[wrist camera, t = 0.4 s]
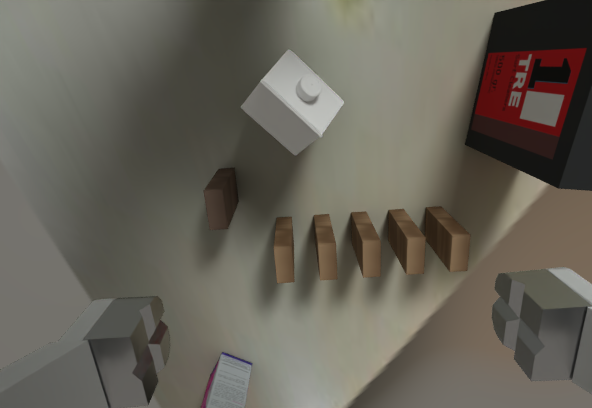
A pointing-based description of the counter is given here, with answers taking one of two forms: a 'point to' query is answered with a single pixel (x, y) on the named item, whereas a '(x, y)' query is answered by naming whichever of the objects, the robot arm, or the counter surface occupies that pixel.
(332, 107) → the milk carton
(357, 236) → the tile
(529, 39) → the cleaning product box
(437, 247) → the tile
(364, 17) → the counter surface
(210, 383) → the supplement box
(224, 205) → the tile
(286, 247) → the tile
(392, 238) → the tile
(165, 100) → the counter surface
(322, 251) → the tile
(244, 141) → the counter surface
